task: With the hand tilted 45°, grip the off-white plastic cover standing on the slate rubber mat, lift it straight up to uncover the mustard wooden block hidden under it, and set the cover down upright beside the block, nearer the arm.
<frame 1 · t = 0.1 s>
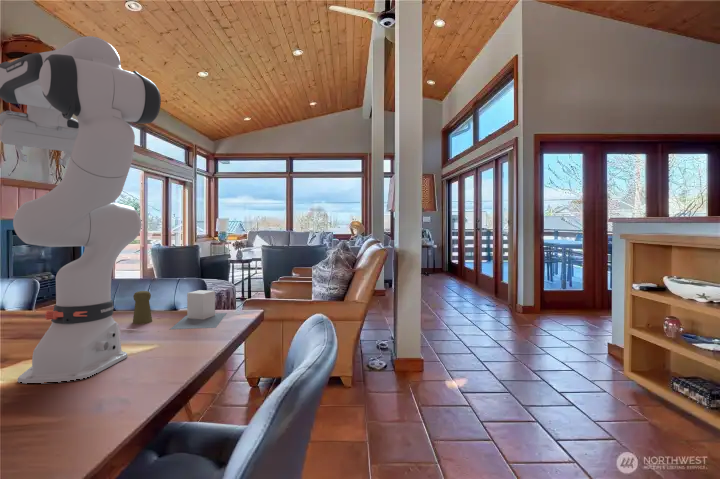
hand: (43, 163, 121), 52 cm above the table, tool tilted 20°, fingers open, 8 cm apart
mat: (200, 321, 138), on the table
cover: (201, 304, 143), on the mat
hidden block: (201, 311, 143), in the cover, touching mat
cork: (142, 324, 136), on the table
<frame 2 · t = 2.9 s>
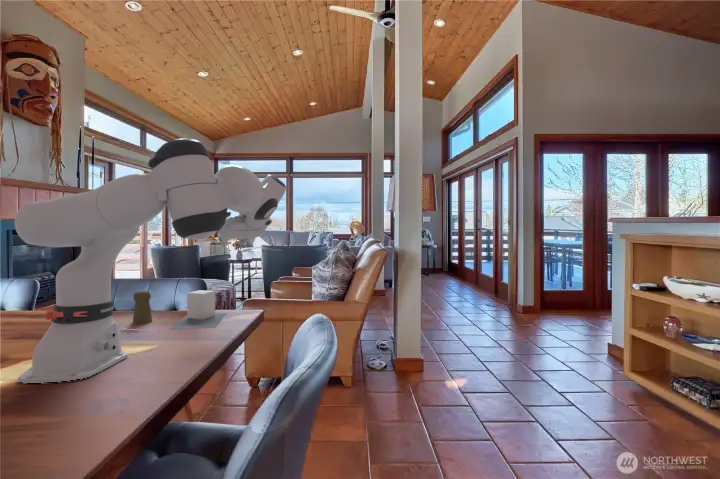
hand: (231, 245, 141), 26 cm above the table, tool tilted 40°, fingers open, 8 cm apart
nothing on the table moved.
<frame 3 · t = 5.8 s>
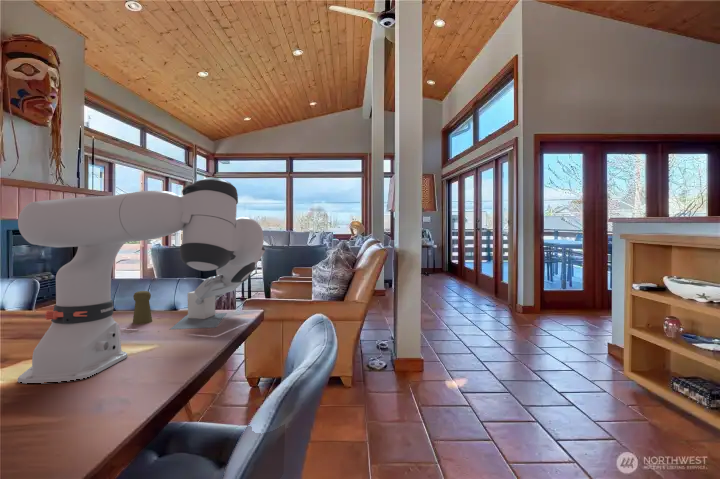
hand: (206, 300, 143), 6 cm above the table, tool tilted 45°, fingers open, 8 cm apart
nothing on the table moved.
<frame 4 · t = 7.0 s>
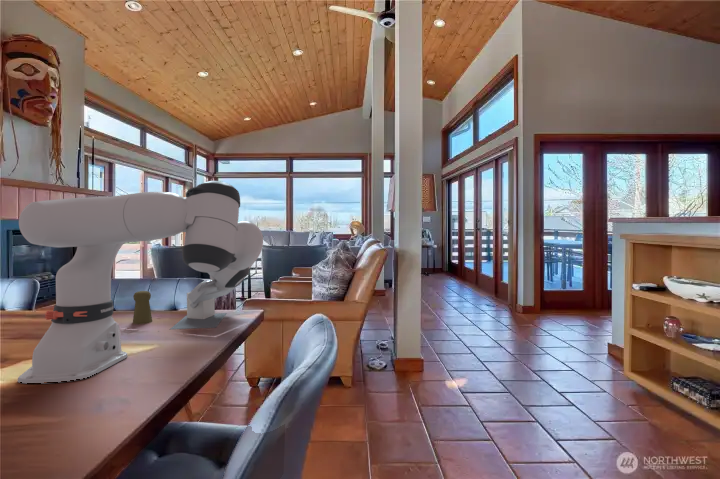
hand: (200, 304, 144), 5 cm above the table, tool tilted 45°, fingers closed on cover, 7 cm apart
cover: (201, 304, 143), on the mat, touching gripper
everything else where it was.
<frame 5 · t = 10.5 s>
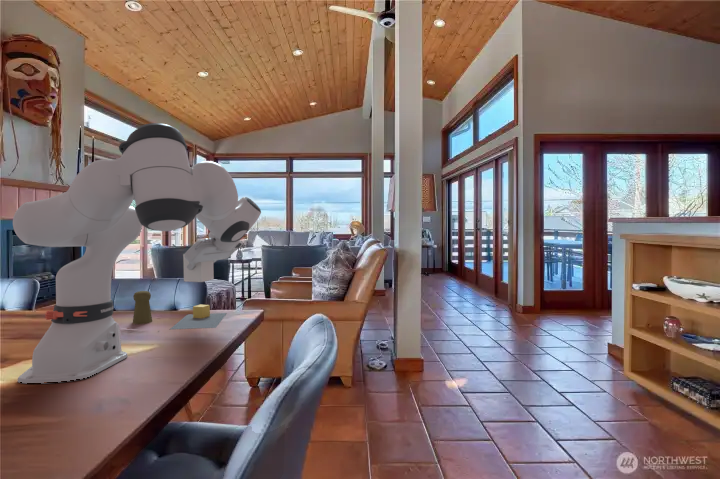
hand: (197, 267, 133), 19 cm above the table, tool tilted 45°, fingers closed on cover, 7 cm apart
cover: (198, 266, 133), point 20 cm above the table, touching gripper
everything else where it was.
when the fingers open (6 cm above the table, at t = 13.9 s): cover drops 2 cm, resting on mat.
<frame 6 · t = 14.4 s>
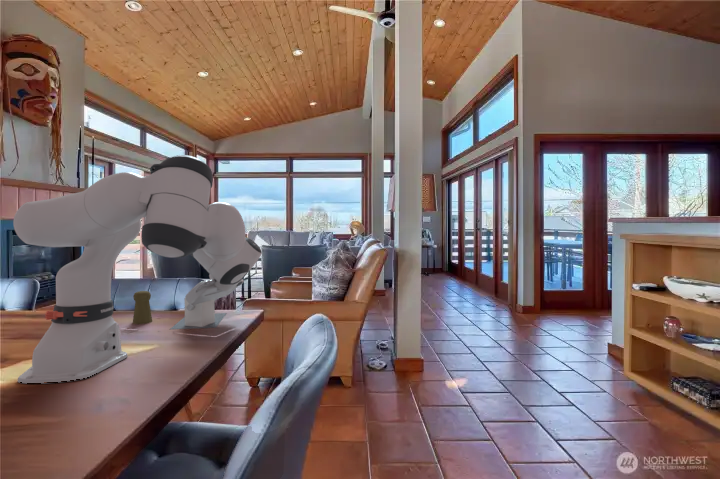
hand: (198, 306, 133), 6 cm above the table, tool tilted 45°, fingers open, 8 cm apart
cover: (199, 310, 133), on the mat
everything else where it was.
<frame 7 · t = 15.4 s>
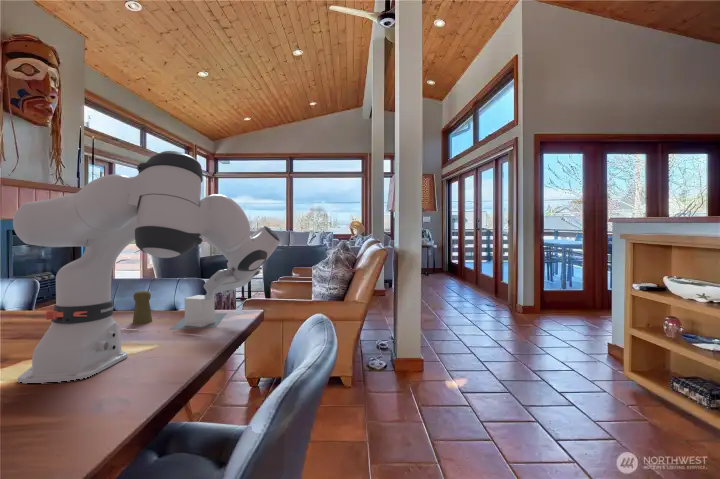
hand: (215, 296, 132), 10 cm above the table, tool tilted 45°, fingers open, 8 cm apart
nothing on the table moved.
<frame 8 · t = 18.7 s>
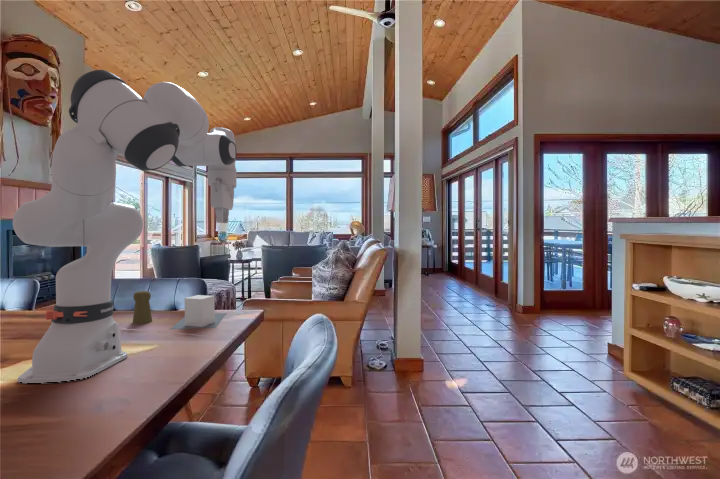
hand: (222, 223, 129), 34 cm above the table, tool pointing down, fingers open, 8 cm apart
nothing on the table moved.
at the end: cover inside the target area (0.1 cm from its centre), point 5.0 cm above the table; cover tilted 0°; the gripper is holding nothing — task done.
